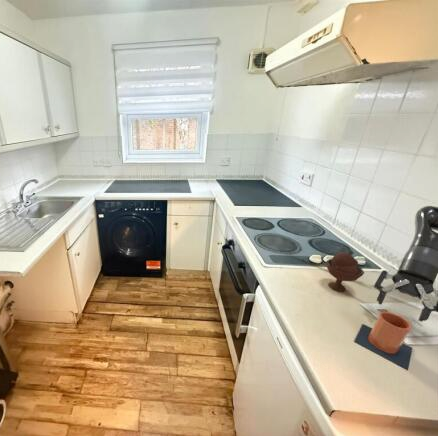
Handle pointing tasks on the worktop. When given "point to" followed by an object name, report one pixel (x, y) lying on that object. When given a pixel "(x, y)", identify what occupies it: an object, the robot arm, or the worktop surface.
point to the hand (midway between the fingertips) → (399, 311)
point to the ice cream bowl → (343, 270)
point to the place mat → (398, 358)
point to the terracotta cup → (389, 332)
